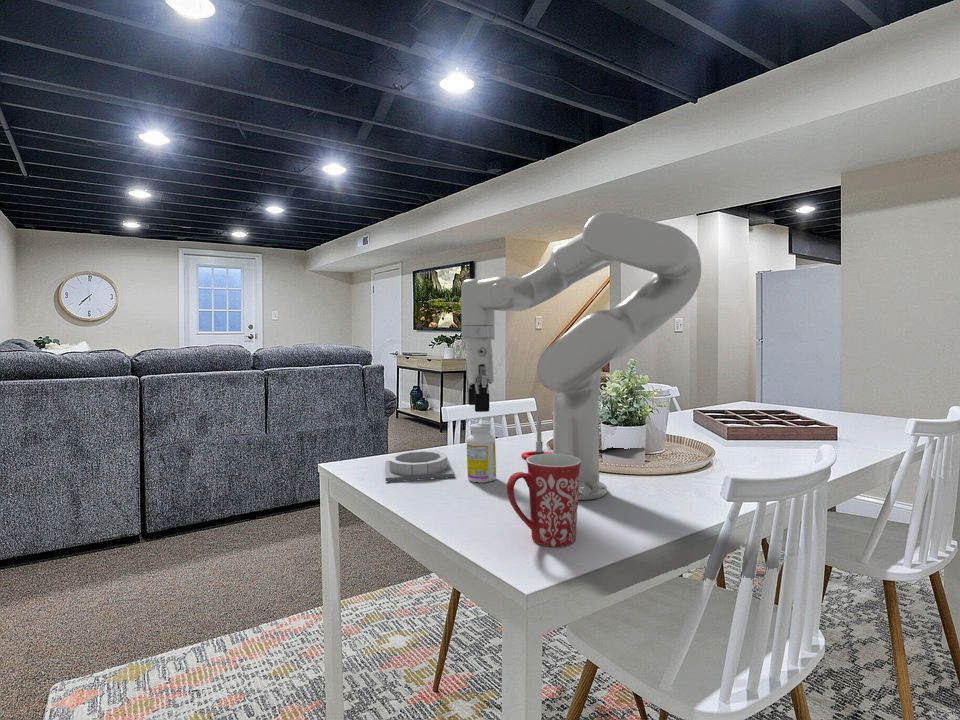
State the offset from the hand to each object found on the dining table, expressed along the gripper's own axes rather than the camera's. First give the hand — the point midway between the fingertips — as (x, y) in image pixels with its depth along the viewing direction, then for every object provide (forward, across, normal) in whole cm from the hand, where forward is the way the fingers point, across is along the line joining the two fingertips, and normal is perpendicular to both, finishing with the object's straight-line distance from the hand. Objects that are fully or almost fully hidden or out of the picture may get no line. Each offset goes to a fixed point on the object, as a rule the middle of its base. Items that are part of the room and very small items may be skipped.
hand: (478, 408), depth 129 cm
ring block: (+17, +10, +13) cm, 24 cm away
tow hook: (+17, +16, -19) cm, 30 cm away
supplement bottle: (+17, 0, -1) cm, 17 cm away
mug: (+16, -38, -5) cm, 42 cm away
